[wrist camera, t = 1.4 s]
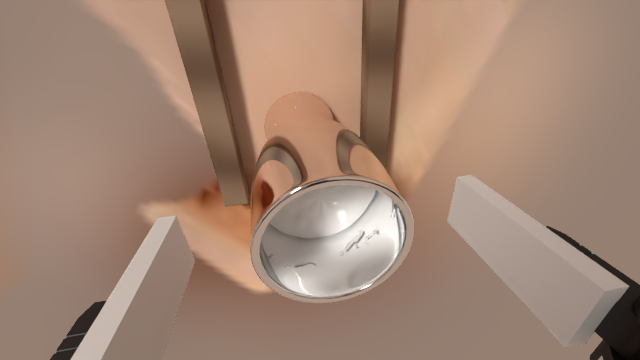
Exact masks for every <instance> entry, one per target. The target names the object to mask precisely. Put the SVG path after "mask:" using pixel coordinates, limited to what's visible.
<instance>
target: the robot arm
mask: <svg viewBox="0 0 640 360" xmlns="http://www.w3.org/2000/svg"><path fill="white" fill-rule="evenodd" d="M447 222H448V223H449V224H450V225H451V226H452V227H453V228H454V229H455V230H456V231H457V232H458V234H460V236H461V237H462V238H463V239H464V240H465V241H466V242H467V243H468V244H469V245H470V246H471V248H472V249H473V250H474V251H475V252H476V253H477V254H478V255H479V256H480V257H481V258H482V259H483V260H484V261H485V262H486V264H487V265H488V266H489V267H490V268H491V269H492V270H493V271H494V272H495V273H496V274H497V275H498V276H499V277H500V278H501V280H503V282H504V283H505V284H506V285H507V286H508V287H509V288H510V289H511V290H512V291H513V292H514V293H515V295H516V296H517V297H518V298H519V299H520V300H521V301H522V302H523V303H524V304H525V305H526V306H527V307H528V308H529V310H530V311H532V313H533V314H534V315H535V316H536V317H537V318H538V319H539V320H540V321H541V322H542V323H543V325H544V326H546V328H547V329H548V330H549V331H550V332H551V333H552V334H553V335H554V336H555V337H556V338H557V339H558V341H559V342H560V343H561V344H562V345H563V346H564V347H565V348H566V347H570V346H574V345H579V344H583V343H586V342H587V341H588V339H589V338H590V337H591V336H592V334H593V333H594V332H596V333H597V334H598V335H599V336H600V337H601V338H603V341H602V342H601V343H600V344H599V346H598V347H597V348H596V349H595V351H594V352H593V353H592V354H591V355H590V360H598V359H599V358H600V356H603V360H640V285H639V284H637V283H636V282H635V281H633V280H632V279H630V278H629V277H627V276H626V275H624V274H623V273H621V272H620V271H619V270H617V269H616V268H614V267H612V266H611V265H610V264H608V263H607V262H605V261H604V260H602V259H601V258H599V257H598V256H596V255H595V254H592V253H591V252H590V251H589V250H588V249H586V248H585V247H583V246H580V245H579V243H577V242H576V241H575V240H573V239H572V238H570V237H568V236H567V235H566V234H564V233H562V232H559V231H557V230H555V229H553V228H551V227H548V226H546V227H545V226H543V225H542V224H541V223H539V222H538V221H536V220H535V219H534V218H532V217H531V216H529V215H528V214H526V213H525V212H524V211H522V210H521V209H519V208H518V207H517V206H515V205H514V204H512V203H511V202H509V201H508V200H507V199H505V198H504V197H502V196H501V195H499V194H498V193H496V192H495V191H494V190H492V189H491V188H490V187H488V186H487V185H485V184H484V183H482V182H481V181H480V180H478V179H477V178H475V177H474V176H473V175H466V176H459V177H457V180H456V184H455V189H454V193H453V198H452V202H451V207H450V211H449V216H448V220H447ZM194 262H195V260H194V258H193V255H192V253H191V250H190V248H189V245H188V243H187V240H186V238H185V236H184V233H183V231H182V228H181V226H180V223H179V221H178V218H177V216H170V217H162V218H158V219H157V220H156V222H155V223H154V225H153V227H152V228H151V230H150V232H149V233H148V235H147V236H146V238H145V240H144V241H143V243H142V245H141V246H140V248H139V250H138V251H137V253H136V254H135V256H134V258H133V259H132V261H131V262H130V264H129V266H128V267H127V269H126V271H125V272H124V274H123V276H122V277H121V279H120V280H119V282H118V284H117V285H116V287H115V288H114V290H113V292H112V293H111V295H110V296H109V298H108V300H107V301H101V302H96V303H94V304H93V305H92V306H91V307H90V308H89V309H87V310H86V311H85V312H84V313H83V314H82V315H81V316H80V317H79V318H78V319H77V321H76V322H75V324H74V325H73V327H72V328H71V330H70V331H69V333H68V334H67V338H66V339H64V340H63V341H62V343H61V344H60V346H59V347H58V349H57V353H56V354H54V355H53V356H52V358H51V359H50V360H162V357H163V354H164V351H165V348H166V345H167V342H168V340H169V336H170V334H171V331H172V328H173V325H174V321H175V319H176V316H177V313H178V310H179V307H180V304H181V301H182V298H183V295H184V292H185V289H186V286H187V283H188V280H189V277H190V274H191V271H192V268H193V265H194Z"/></svg>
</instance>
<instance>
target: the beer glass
mask: <svg viewBox="0 0 640 360" xmlns="http://www.w3.org/2000/svg"><path fill="white" fill-rule="evenodd" d="M264 129H265V136H266V139H267V141H266V143H265V145H264V146H263V148H262V150H261V153H260V155H259V158H258V160H257V163H256V166H255V170H254V175H253V181H252V187H251V203H250V214H251V247H250V253H251V260H252V264H253V267H254V269H255V271H256V273H257V275H258V276H259V278H260V279H261V280H262V281H263V282H264V283H265V284H266V285H267V286H268V287H269V288H270V289H272V290H273V291H275V292H276V293H278V294H280V295H282V296H284V297H287V298H290V299H293V300H296V301H301V302H308V303H329V302H336V301H341V300H346V299H349V298H352V297H355V296H358V295H360V294H363V293H365V292H367V291H369V290H371V289H373V288H374V287H376V286H378V285H379V284H381V283H382V282H384V281H385V280H386V279H387V278H389V277H390V276H391V275H392V274H393V273H394V272H395V271H396V270H397V269H398V268H399V267H400V265H401V264H402V263H403V261H404V260H405V258H406V257H407V255H408V253H409V251H410V248H411V246H412V243H413V239H414V232H415V224H414V219H413V214H412V212H411V209H410V207H409V205H408V203H407V202H406V201H405V199H404V198H403V197H402V196H401V194H400V193H399V191H398V189H397V188H396V186H395V184H394V183H393V181H392V179H391V178H390V176H389V174H388V173H387V171H386V170H385V168H384V166H383V165H382V164H381V162H380V161H379V159H378V158H377V157H376V155H375V154H374V153H373V151H372V150H371V149H370V148H369V147H368V146H367V145H366V144H365V143H364V142H363V141H362V139H361V138H360V137H358V136H357V135H356V134H355V133H353V132H352V131H351V130H349V129H348V128H346V127H345V126H343V125H342V124H340V123H338V122H336V121H334V118H333V115H332V112H331V110H330V108H329V107H328V106H327V104H326V103H325V102H324V101H323V100H322V99H320V98H319V97H317V96H315V95H313V94H310V93H305V92H294V93H290V94H287V95H285V96H283V97H281V98H279V99H278V100H277V101H276V102H275V103H274V104H273V105H272V106H271V107H270V109H269V110H268V113H267V115H266V119H265V125H264Z"/></svg>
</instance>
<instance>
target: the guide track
mask: <svg viewBox="0 0 640 360" xmlns="http://www.w3.org/2000/svg"><path fill="white" fill-rule="evenodd" d="M165 2H166V6H167V9H168V13H169V16H170V19H171V23H172V26H173V30H174V33H175V37H176V40H177V43H178V47H179V50H180V54H181V57H182V60H183V64H184V67H185V71H186V74H187V77H188V81H189V84H190V88H191V91H192V94H193V98H194V101H195V105H196V108H197V111H198V115H199V118H200V122H201V125H202V128H203V132H204V135H205V139H206V142H207V145H208V149H209V152H210V156H211V159H212V162H213V166H214V169H215V173H216V176H217V180H218V183H219V186H220V190H221V193H222V197H223V200H224V203H225V207H227V206H235V205H242V204H248V200H249V189H248V185H247V181H246V176H245V172H244V168H243V163H242V159H241V155H240V150H239V146H238V142H237V137H236V133H235V129H234V124H233V120H232V116H231V111H230V107H229V103H228V98H227V94H226V89H225V85H224V81H223V76H222V72H221V68H220V63H219V59H218V55H217V50H216V46H215V42H214V37H213V33H212V29H211V24H210V20H209V16H208V11H207V7H206V3H205V0H165ZM398 8H399V0H363V22H362V72H361V122H360V138H361V139H362V141H363V142H364V143H365V144H366V145H367V146H368V147H369V148H370V149H371V150H372V151H373V153H374V154H375V155H376V157H377V158H378V159H379V161H380V162H381V164H382V165H383V166H384V168H385V170H386V163H387V150H388V137H389V124H390V111H391V98H392V86H393V73H394V60H395V47H396V34H397V21H398Z"/></svg>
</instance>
